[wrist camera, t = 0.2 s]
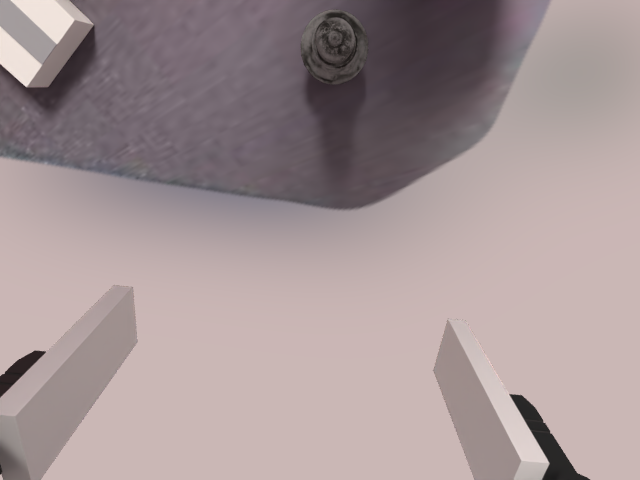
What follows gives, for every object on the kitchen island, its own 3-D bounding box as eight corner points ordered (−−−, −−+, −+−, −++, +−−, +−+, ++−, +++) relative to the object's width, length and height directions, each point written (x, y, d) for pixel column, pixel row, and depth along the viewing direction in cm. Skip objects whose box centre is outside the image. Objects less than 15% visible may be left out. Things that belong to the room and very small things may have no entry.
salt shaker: (320, 95, 39) (316, 99, 28) (292, 36, 37) (275, 14, 26) (374, 66, 38) (393, 58, 27) (349, 3, 36) (357, -34, 25)
